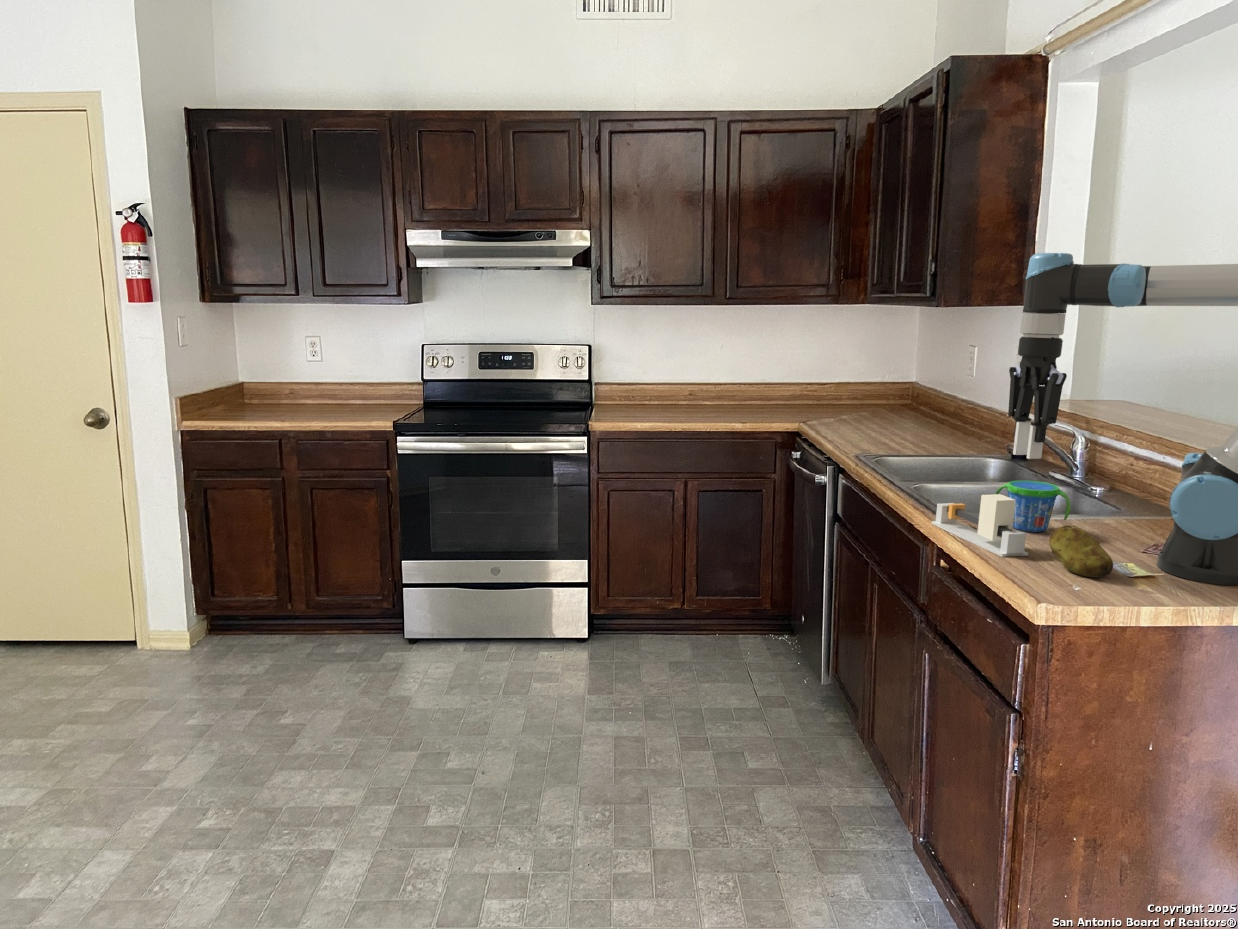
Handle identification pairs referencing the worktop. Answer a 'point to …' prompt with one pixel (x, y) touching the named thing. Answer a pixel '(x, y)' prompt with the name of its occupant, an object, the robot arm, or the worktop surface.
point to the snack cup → (1033, 504)
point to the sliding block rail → (948, 521)
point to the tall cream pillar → (995, 515)
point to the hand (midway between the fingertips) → (1026, 456)
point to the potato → (1080, 552)
